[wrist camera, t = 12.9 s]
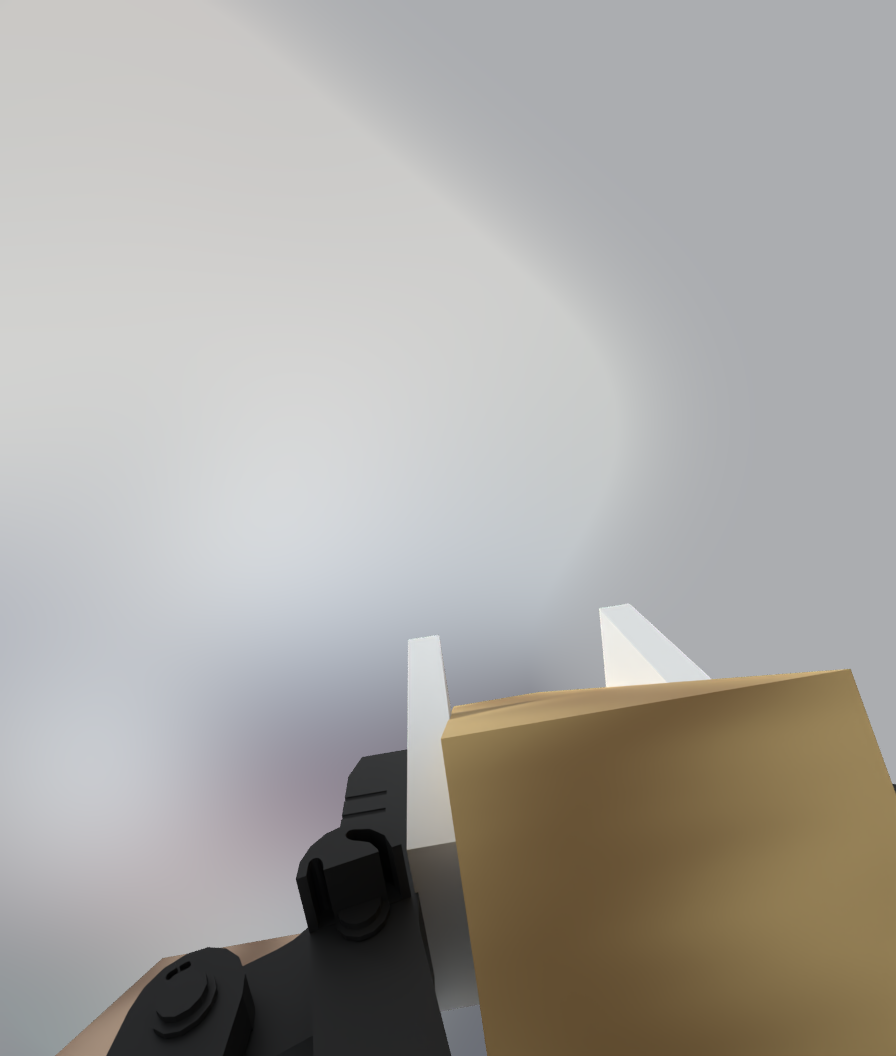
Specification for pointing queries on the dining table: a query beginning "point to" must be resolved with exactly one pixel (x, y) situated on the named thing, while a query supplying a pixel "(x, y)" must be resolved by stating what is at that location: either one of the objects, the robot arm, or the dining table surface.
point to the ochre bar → (678, 868)
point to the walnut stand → (97, 1038)
